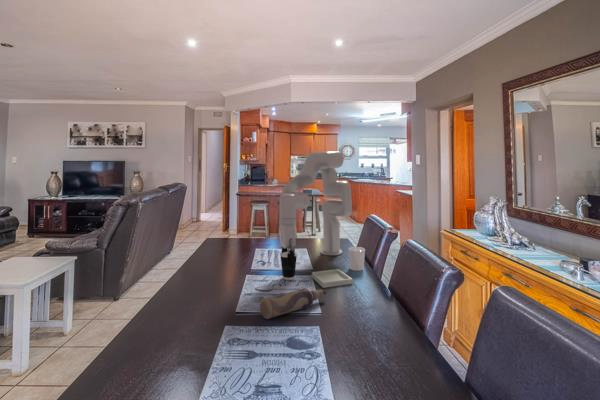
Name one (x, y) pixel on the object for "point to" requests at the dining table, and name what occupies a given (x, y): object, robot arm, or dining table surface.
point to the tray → (331, 278)
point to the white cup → (356, 258)
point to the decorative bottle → (289, 302)
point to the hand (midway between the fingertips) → (287, 259)
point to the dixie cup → (288, 266)
